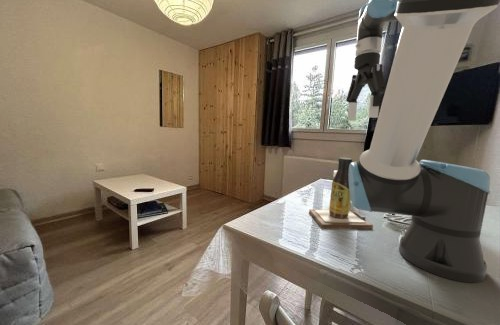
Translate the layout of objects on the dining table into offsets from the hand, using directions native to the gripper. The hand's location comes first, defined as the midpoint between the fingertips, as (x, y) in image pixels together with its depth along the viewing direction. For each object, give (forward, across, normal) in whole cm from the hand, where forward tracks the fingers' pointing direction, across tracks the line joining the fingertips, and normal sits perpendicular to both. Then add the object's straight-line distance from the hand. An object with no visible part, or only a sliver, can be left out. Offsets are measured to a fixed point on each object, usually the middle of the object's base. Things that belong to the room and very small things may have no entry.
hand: (361, 118), depth 74 cm
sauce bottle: (+33, +7, -8) cm, 35 cm away
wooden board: (+35, +7, -8) cm, 36 cm away
